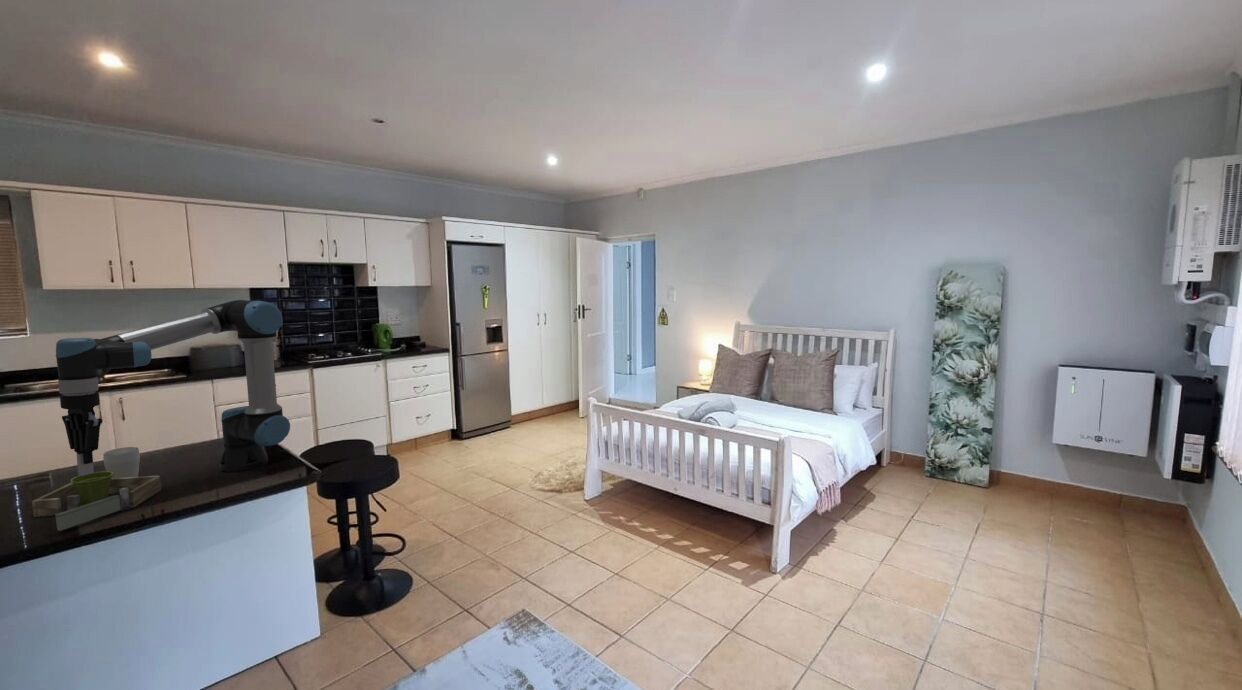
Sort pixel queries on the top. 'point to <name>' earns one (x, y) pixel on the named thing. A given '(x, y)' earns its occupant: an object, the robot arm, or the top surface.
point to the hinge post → (124, 498)
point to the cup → (122, 462)
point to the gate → (87, 512)
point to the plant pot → (92, 486)
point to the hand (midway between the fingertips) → (86, 473)
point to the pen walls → (137, 489)
